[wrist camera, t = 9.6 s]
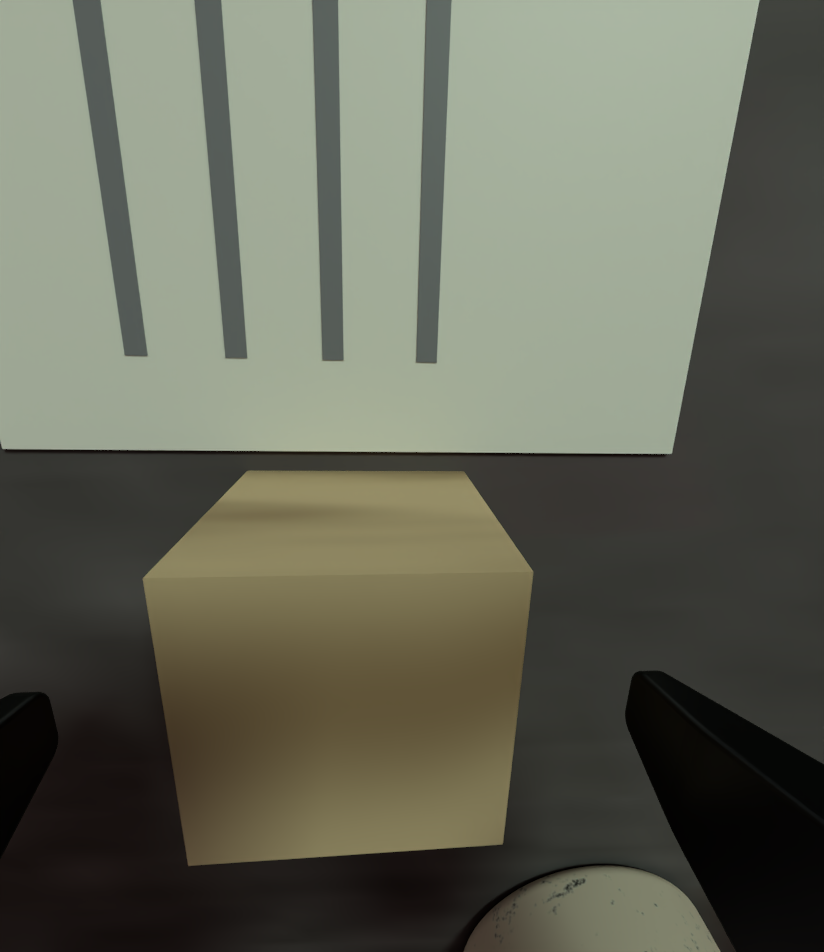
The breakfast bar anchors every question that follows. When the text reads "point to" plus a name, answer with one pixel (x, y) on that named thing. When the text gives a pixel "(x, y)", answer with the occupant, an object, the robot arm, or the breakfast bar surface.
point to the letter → (358, 221)
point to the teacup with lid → (594, 915)
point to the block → (340, 666)
